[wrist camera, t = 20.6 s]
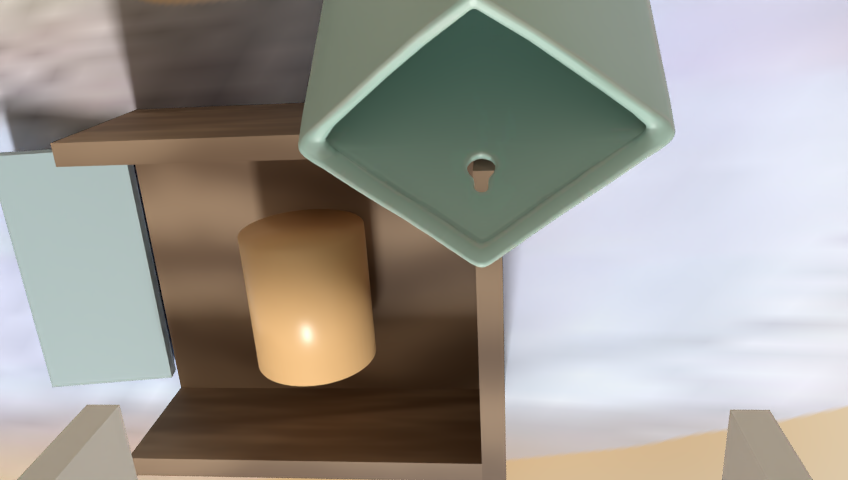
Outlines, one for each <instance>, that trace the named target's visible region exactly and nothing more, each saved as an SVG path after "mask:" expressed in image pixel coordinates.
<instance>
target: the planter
mask: <svg viewBox="0 0 848 480" xmlns="http://www.w3.org/2000/svg"><path fill="white" fill-rule="evenodd" d="M674 135H675V127H674V121H673V115H672V109H671V103H670V98H669V93H668V88H667V83H666V78H665V74H664V69H663V64H662V59H661V54H660V49H659V44H658V39H657V35H656V30H655V25H654V20H653V15H652V10H651V5H650V0H323V5H322V10H321V16H320V21H319V27H318V32H317V38H316V43H315V49H314V54H313V60H312V65H311V70H310V76H309V81H308V87H307V92H306V98H305V103H304V109H303V114H302V121H301V128H300V135H299V142H298V148H299V151H300V153H301V154H302V155H303V156H304V157H305V158H307V159H308V160H310V161H311V162H312V163H314V164H316V165H318V166H319V167H321V168H323V169H324V170H326V171H327V172H329V173H331V174H332V175H334V176H335V177H337V178H338V179H340V180H341V181H343V182H344V183H346V184H347V185H349V186H351V187H352V188H354V189H355V190H357V191H358V192H360V193H362V194H363V195H365V196H366V197H368V198H370V199H371V200H373V201H374V202H376V203H378V204H379V205H381V206H382V207H384V208H386V209H387V210H389V211H391V212H392V213H394V214H396V215H398V216H399V217H401V218H402V219H404V220H406V221H407V222H409V223H410V224H412V225H413V226H415V227H416V228H418V229H420V230H421V231H423V232H424V233H426V234H427V235H429V236H431V237H432V238H434V239H435V240H436V241H438V242H439V243H441V244H442V245H444V246H445V247H447V248H448V249H450V250H451V251H453V252H454V253H456V254H457V255H459V256H460V257H462V258H463V259H465V260H466V261H468V262H469V263H471V264H473V265H475V266H477V267H486V266H488V265H490V264H492V263H493V262H495V261H496V260H498V259H499V258H501V257H502V256H503V255H505V254H506V253H508V252H509V251H511V250H512V249H514V248H515V247H516V246H518V245H519V244H521V243H522V242H523V241H525V240H526V239H527V238H529V237H530V236H532V235H533V234H535V233H536V232H538V231H539V230H540V229H542V228H543V227H545V226H546V225H548V224H549V223H551V222H552V221H554V220H555V219H556V218H558V217H559V216H561V215H562V214H564V213H565V212H567V211H568V210H570V209H571V208H573V207H575V206H576V205H578V204H579V203H581V202H582V201H584V200H585V199H587V198H588V197H590V196H591V195H593V194H594V193H596V192H597V191H599V190H600V189H602V188H603V187H605V186H607V185H608V184H610V183H611V182H613V181H614V180H615V179H617V178H618V177H620V176H621V175H623V174H624V173H626V172H627V171H629V170H630V169H631V168H633V167H634V166H636V165H637V164H639V163H640V162H642V161H643V160H645V159H646V158H648V157H649V156H651V155H652V154H654V153H656V152H657V151H659V150H660V149H662V148H663V147H664V146H666V145H667V144H668V143H669V142H670V141H671V140H672V139H673V137H674ZM478 159H486V160H489V161H492V162H493V163H494V165H495V171H494V173H493V174H492V175H491V177H490V178H489V182H488V190H487V191H486V192H478V191H476V190H475V189H474V179H473V178H472V177H471V176H470V174H469V173H468V171H467V167H468V165H469V164H470V163H471V162H472V161H475V160H478Z"/></svg>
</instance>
